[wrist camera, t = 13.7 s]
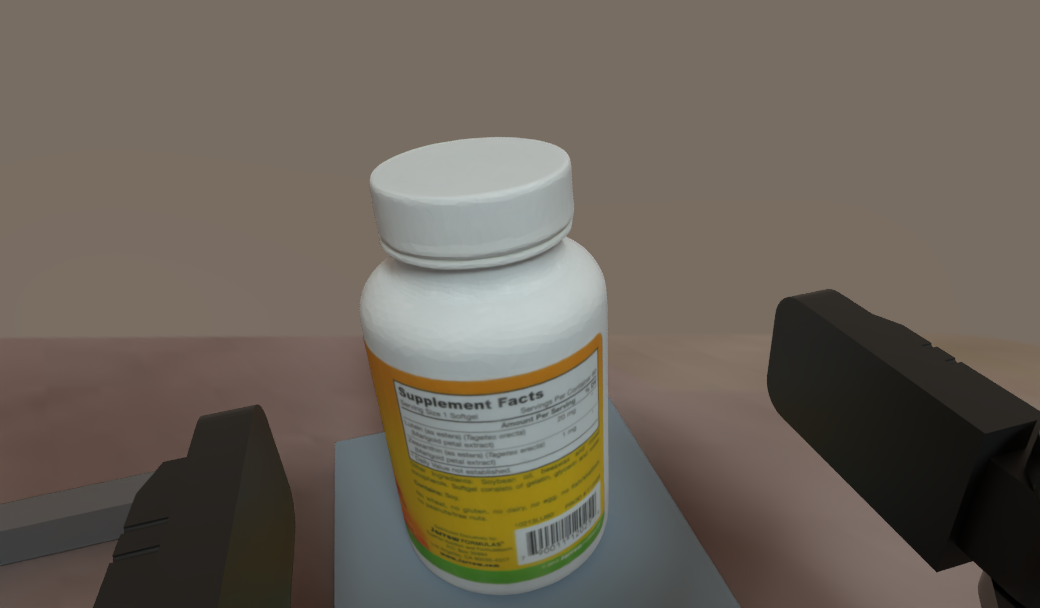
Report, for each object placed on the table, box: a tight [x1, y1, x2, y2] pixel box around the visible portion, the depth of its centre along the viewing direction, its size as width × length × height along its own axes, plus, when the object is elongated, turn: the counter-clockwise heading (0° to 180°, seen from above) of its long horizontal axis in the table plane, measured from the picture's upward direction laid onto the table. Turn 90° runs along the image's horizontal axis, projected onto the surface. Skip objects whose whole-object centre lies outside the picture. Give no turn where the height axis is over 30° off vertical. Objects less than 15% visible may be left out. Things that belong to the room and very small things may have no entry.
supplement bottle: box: [360, 137, 609, 595], centre depth 15 cm, size 5×5×10 cm
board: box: [334, 397, 741, 608], centre depth 18 cm, size 9×9×1 cm
